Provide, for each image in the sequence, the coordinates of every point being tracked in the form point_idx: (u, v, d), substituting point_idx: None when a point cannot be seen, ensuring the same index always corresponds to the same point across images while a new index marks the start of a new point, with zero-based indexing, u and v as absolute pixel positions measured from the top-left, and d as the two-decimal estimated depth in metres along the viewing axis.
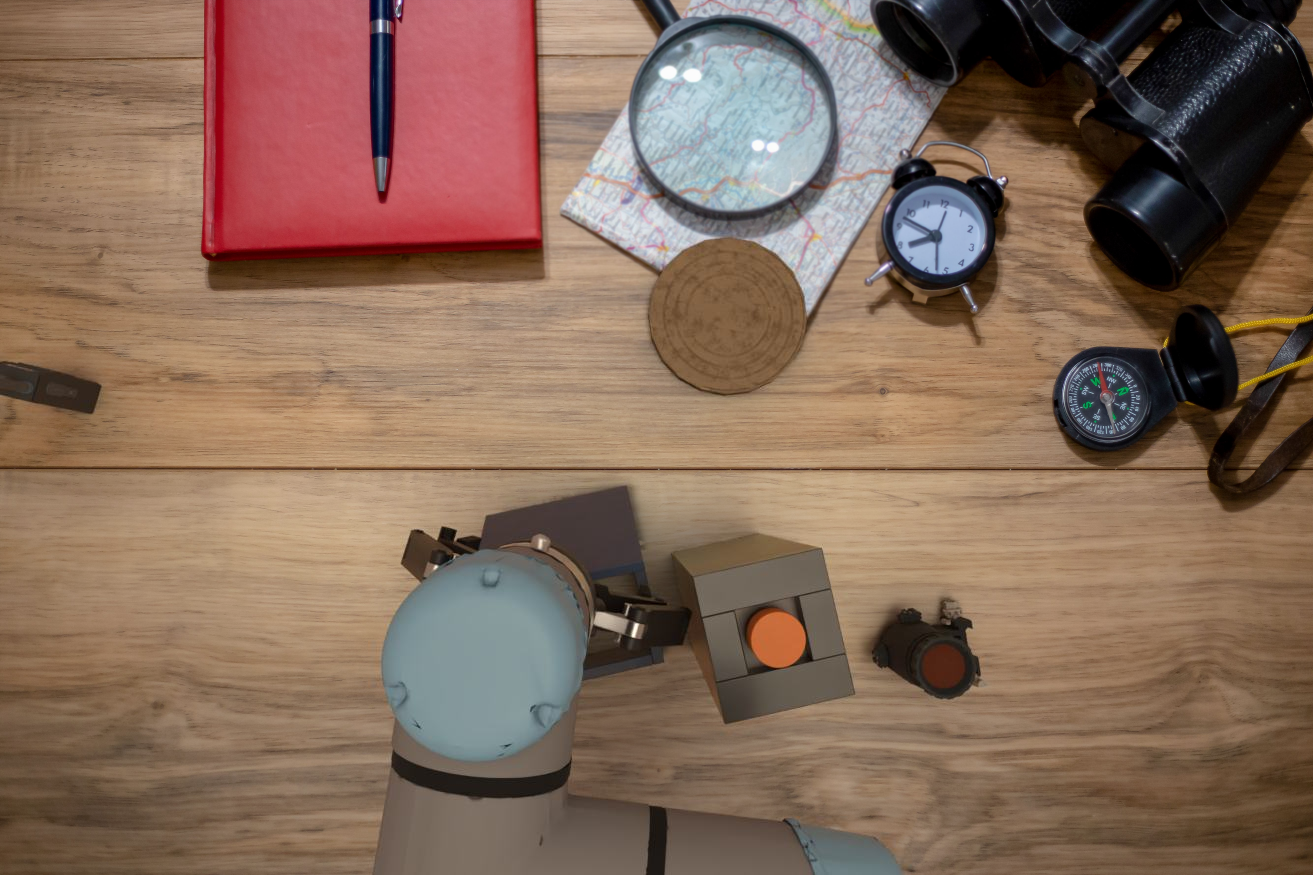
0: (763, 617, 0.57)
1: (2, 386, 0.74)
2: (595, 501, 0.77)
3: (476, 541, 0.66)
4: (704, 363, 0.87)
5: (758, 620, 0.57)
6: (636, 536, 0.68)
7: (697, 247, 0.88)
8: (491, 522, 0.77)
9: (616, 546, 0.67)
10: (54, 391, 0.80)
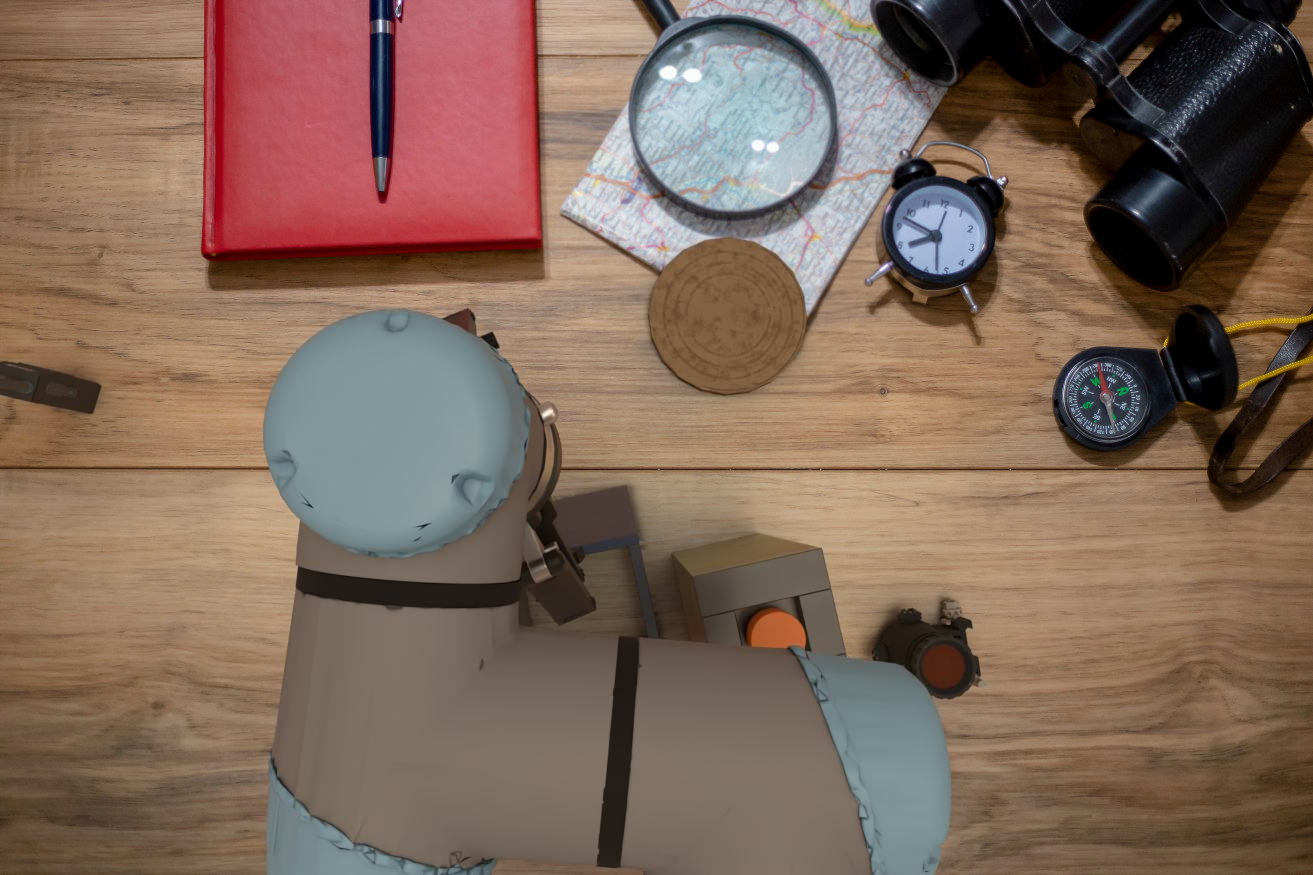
0: (763, 617, 0.57)
1: (2, 386, 0.74)
2: (594, 498, 0.77)
3: None
4: (704, 363, 0.87)
5: (758, 620, 0.57)
6: (632, 518, 0.67)
7: (697, 247, 0.88)
8: None
9: (611, 526, 0.66)
10: (54, 391, 0.80)
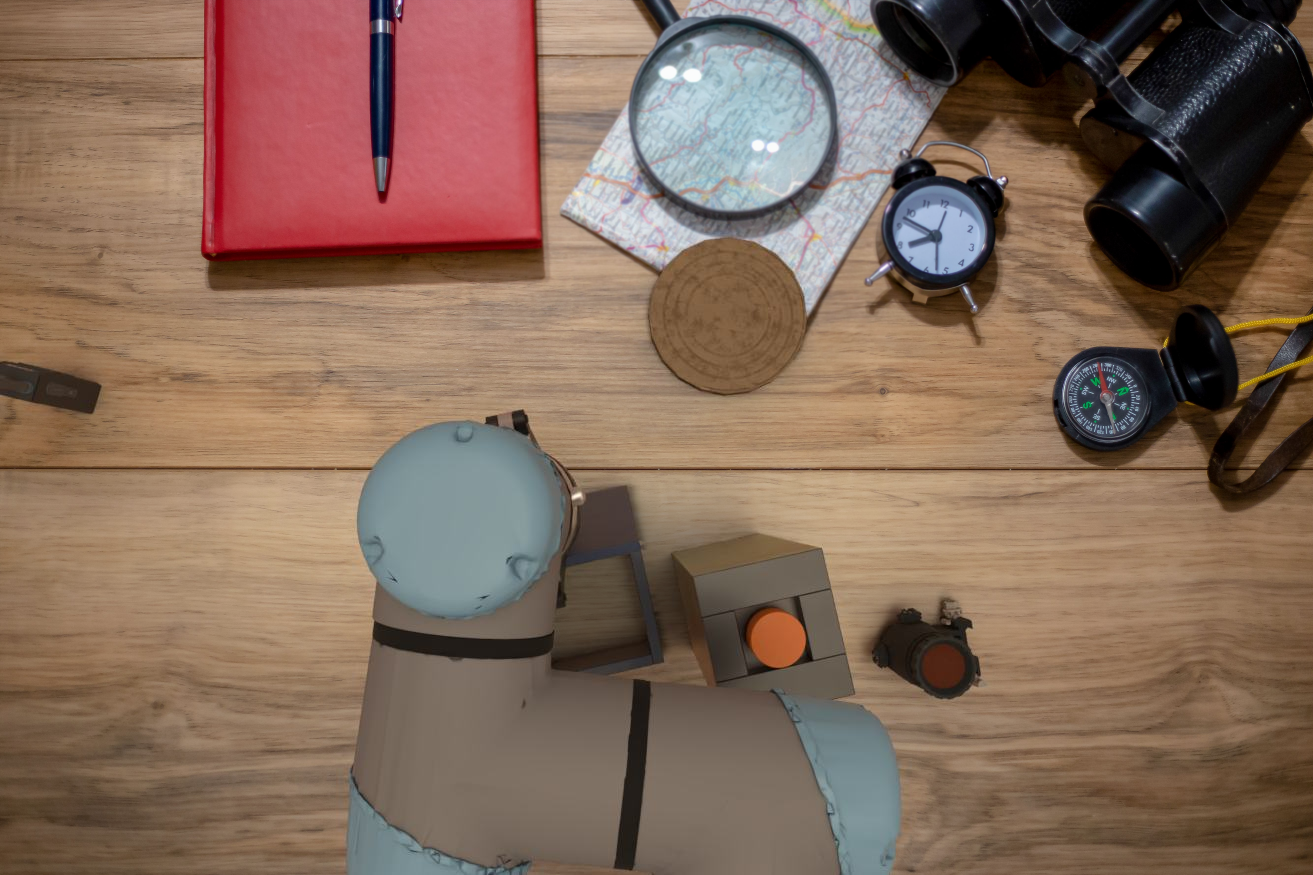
0: (763, 617, 0.57)
1: (2, 386, 0.74)
2: (595, 499, 0.77)
3: None
4: (704, 363, 0.87)
5: (758, 620, 0.57)
6: (633, 523, 0.67)
7: (697, 247, 0.88)
8: None
9: (613, 531, 0.66)
10: (54, 391, 0.80)
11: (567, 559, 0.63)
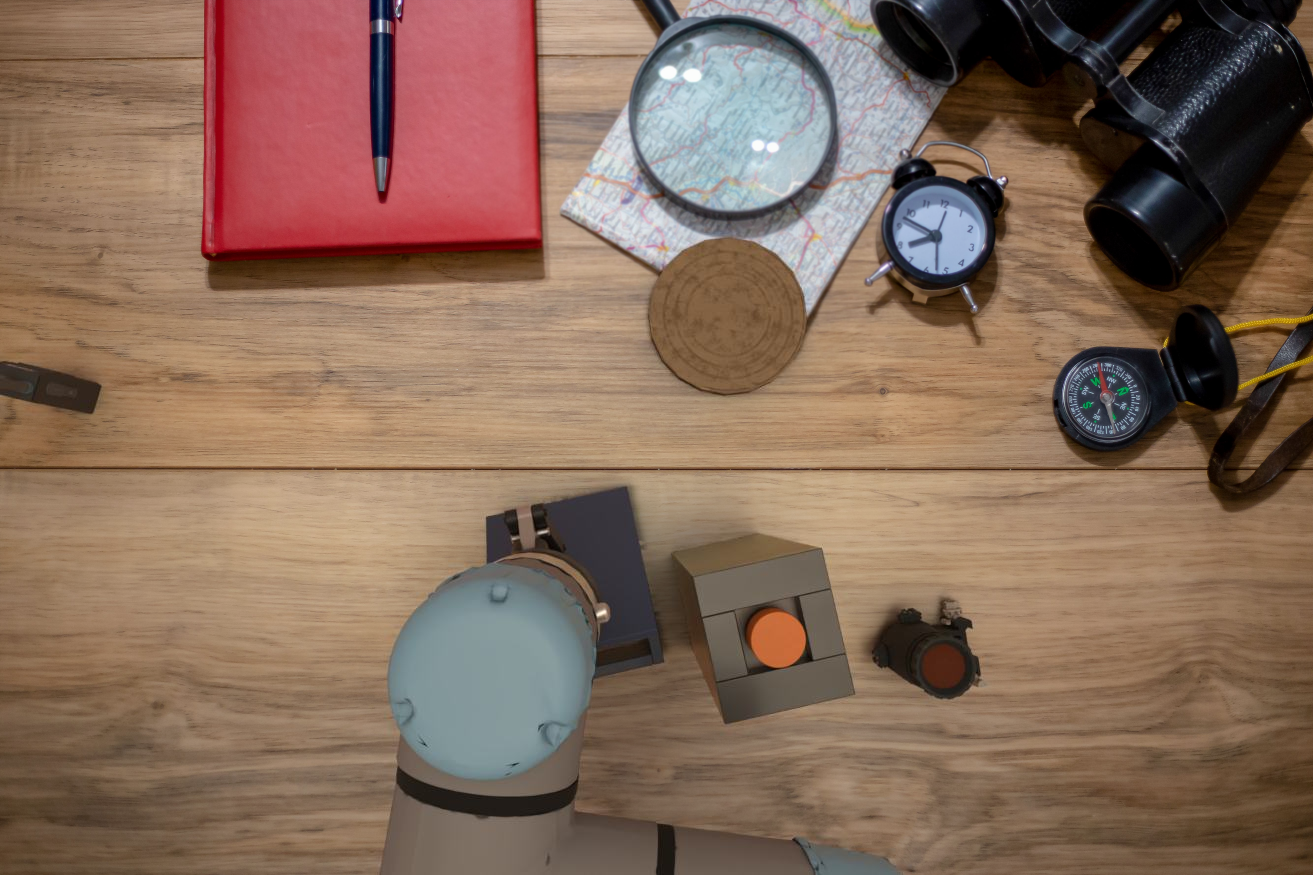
0: (763, 617, 0.57)
1: (2, 386, 0.74)
2: (597, 512, 0.77)
3: None
4: (704, 363, 0.87)
5: (758, 620, 0.57)
6: (646, 584, 0.70)
7: (697, 247, 0.88)
8: (493, 532, 0.77)
9: (628, 599, 0.69)
10: (54, 391, 0.80)
11: None
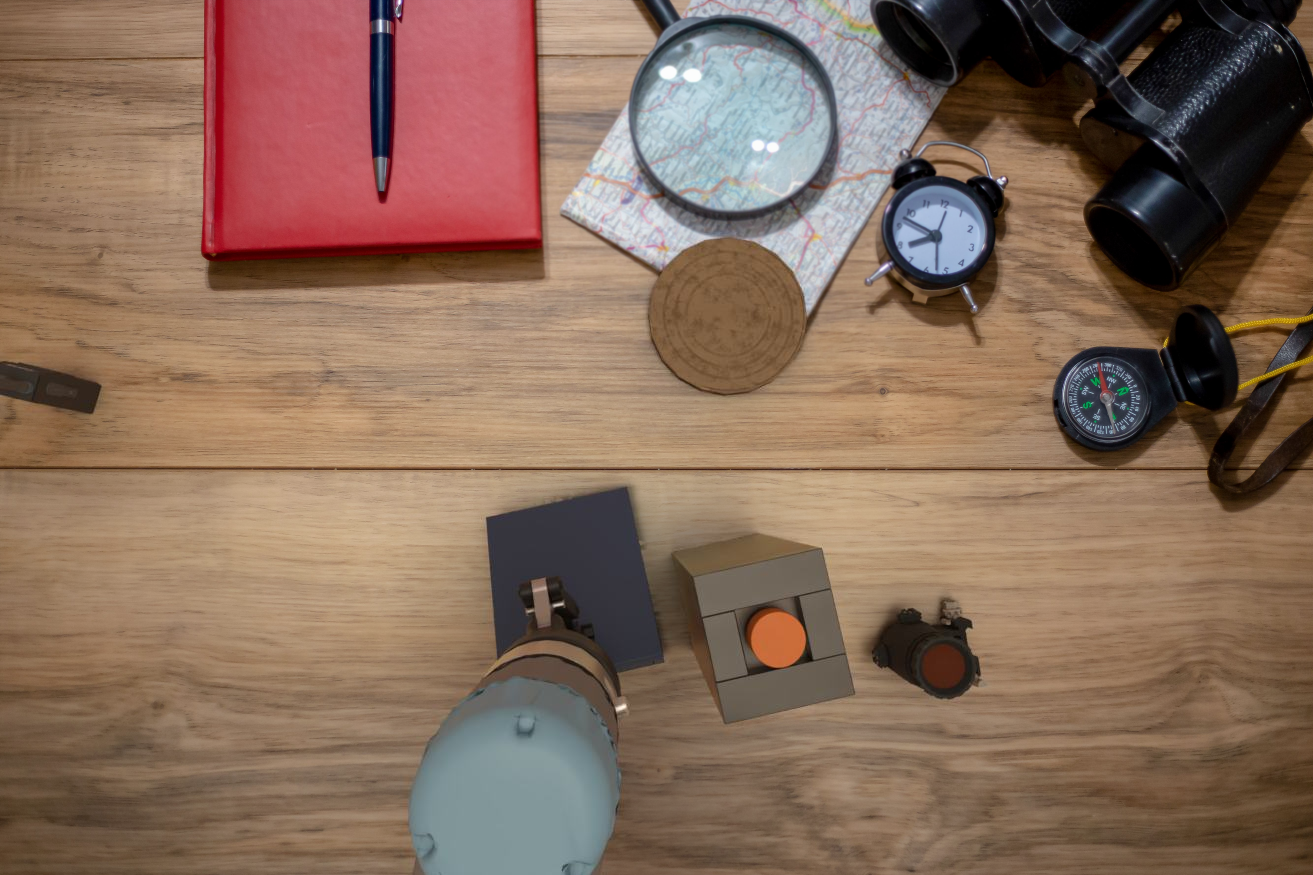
0: (763, 617, 0.57)
1: (2, 386, 0.74)
2: (599, 516, 0.77)
3: None
4: (704, 363, 0.87)
5: (758, 620, 0.57)
6: (650, 603, 0.71)
7: (697, 247, 0.88)
8: (495, 536, 0.77)
9: (633, 619, 0.71)
10: (54, 391, 0.80)
11: None
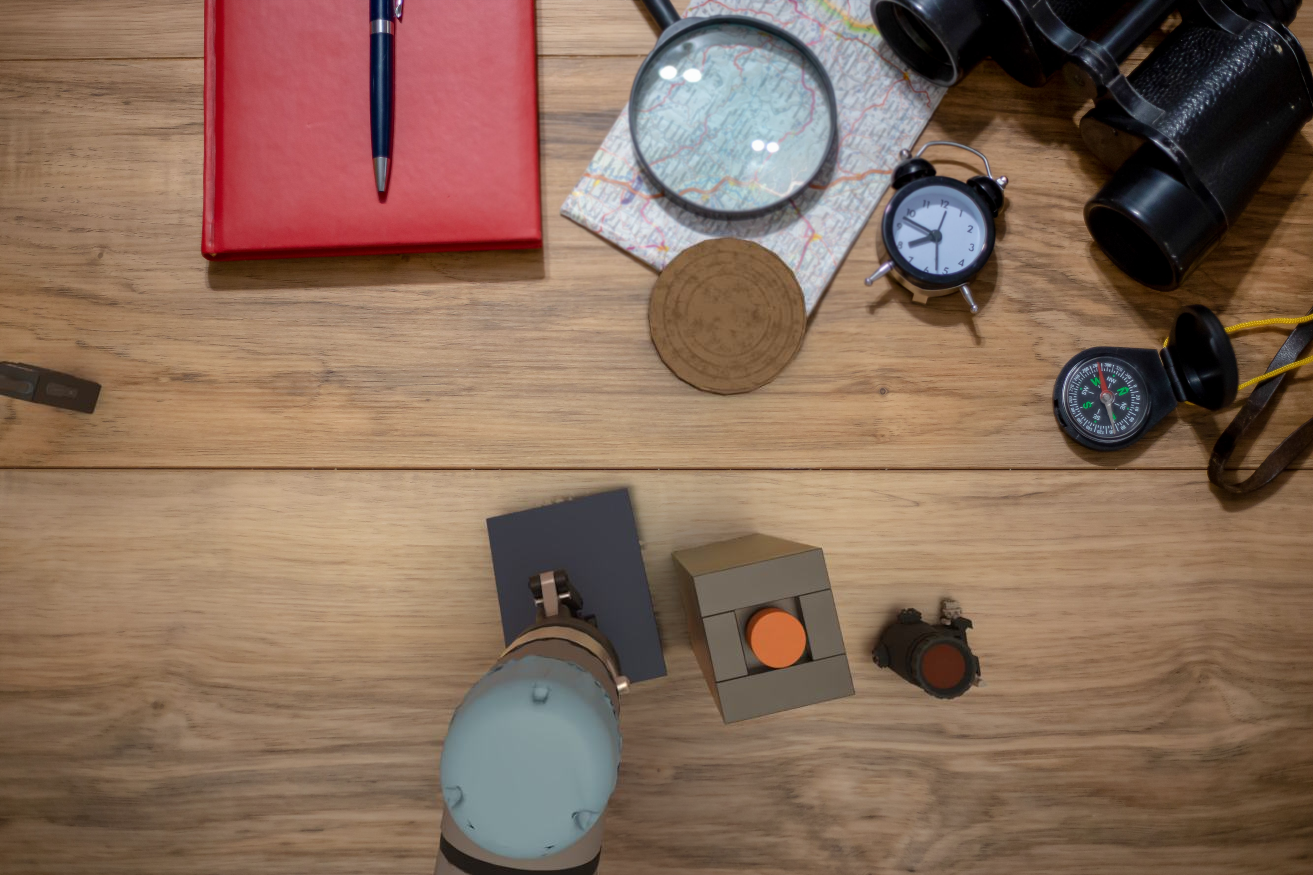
0: (763, 617, 0.57)
1: (2, 386, 0.74)
2: (600, 522, 0.78)
3: None
4: (704, 363, 0.87)
5: (758, 620, 0.57)
6: (654, 621, 0.75)
7: (697, 247, 0.88)
8: (497, 541, 0.78)
9: (638, 638, 0.75)
10: (54, 391, 0.80)
11: None
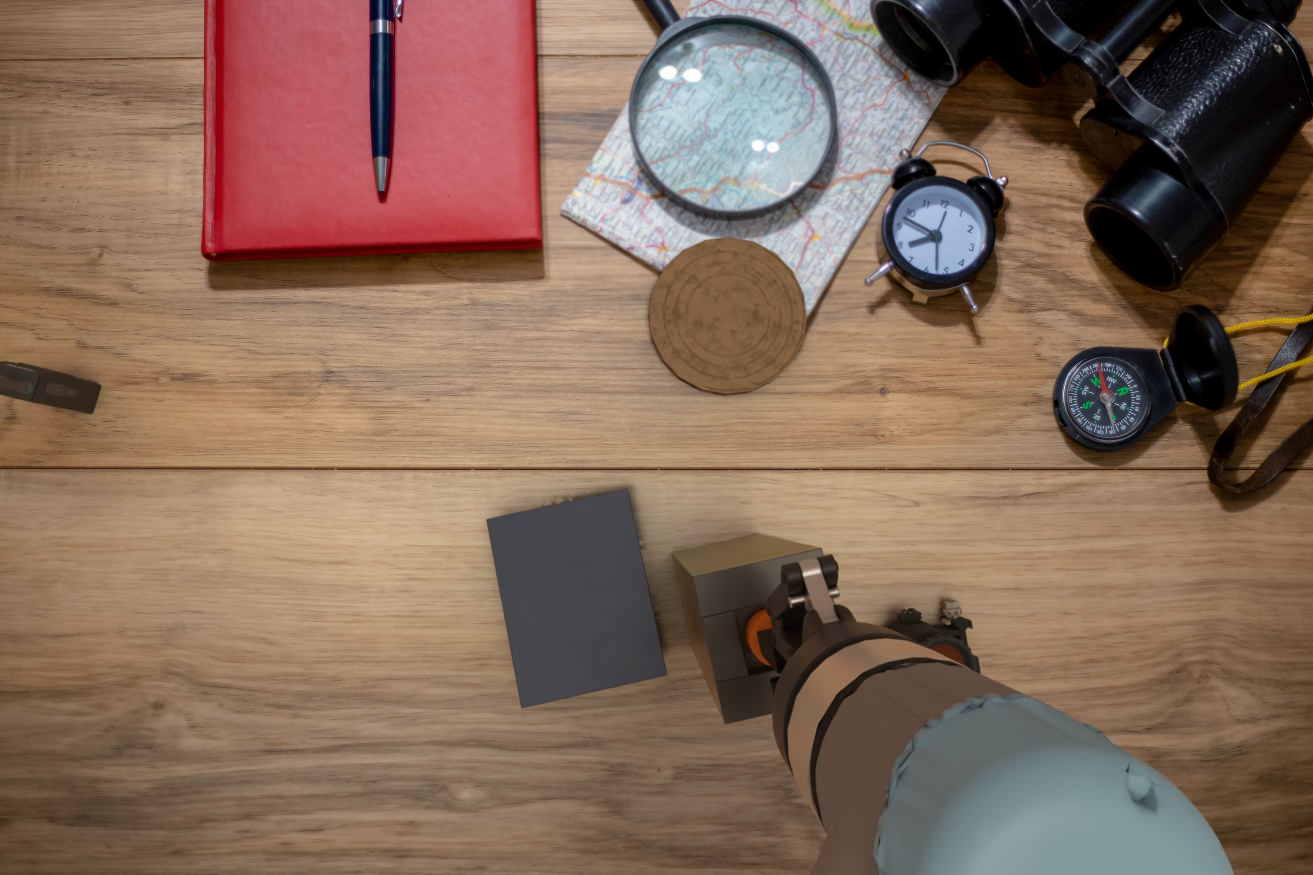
0: (762, 616, 0.57)
1: (2, 386, 0.74)
2: (601, 524, 0.79)
3: None
4: (704, 363, 0.87)
5: (757, 619, 0.57)
6: (655, 623, 0.77)
7: (697, 247, 0.88)
8: (498, 542, 0.78)
9: (639, 639, 0.77)
10: (54, 391, 0.80)
11: None
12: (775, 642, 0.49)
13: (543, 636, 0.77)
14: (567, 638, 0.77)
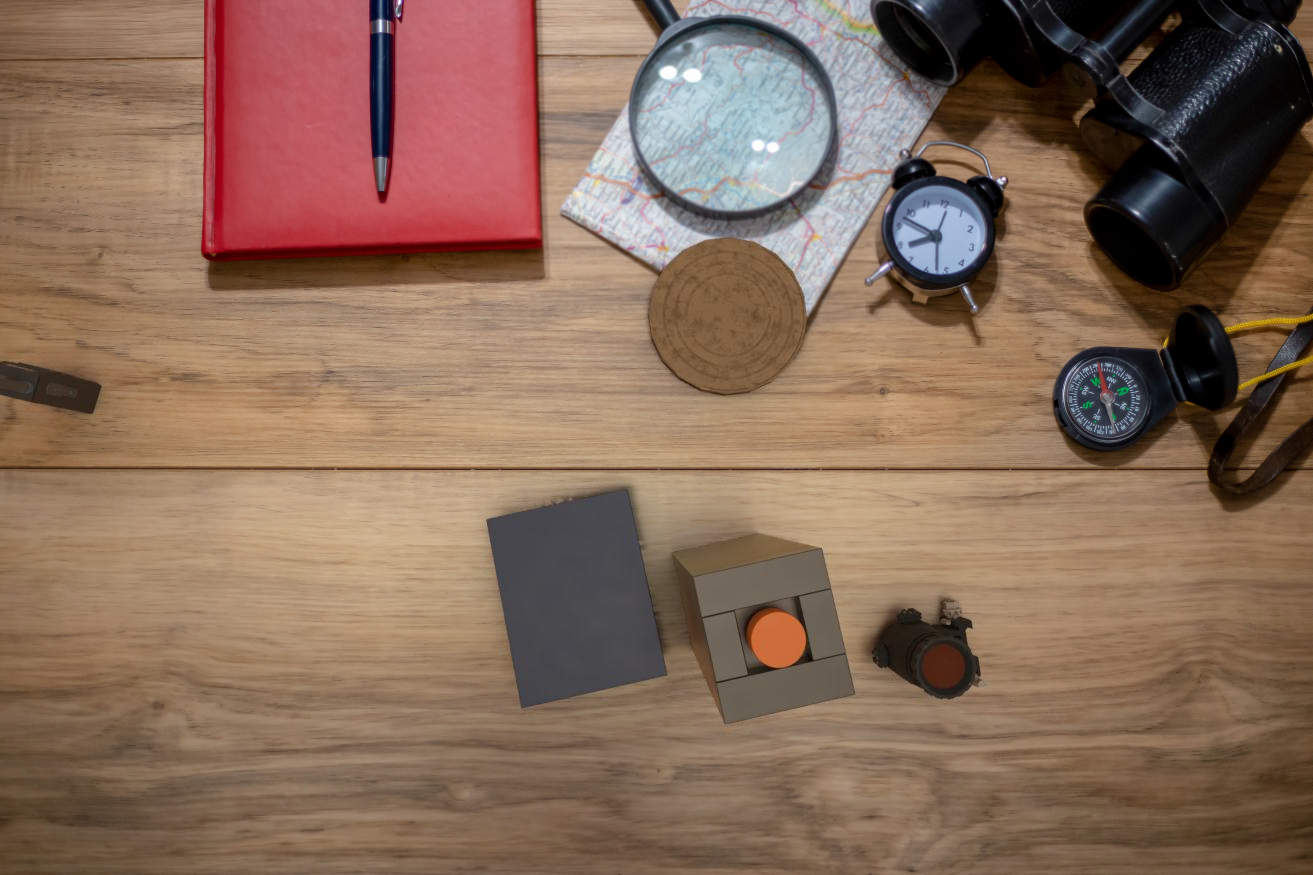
0: (763, 617, 0.57)
1: (2, 386, 0.74)
2: (601, 524, 0.79)
3: None
4: (704, 363, 0.87)
5: (758, 620, 0.57)
6: (655, 623, 0.77)
7: (697, 247, 0.88)
8: (498, 542, 0.78)
9: (639, 639, 0.77)
10: (54, 391, 0.80)
11: None
12: None
13: (543, 636, 0.77)
14: (567, 638, 0.77)
